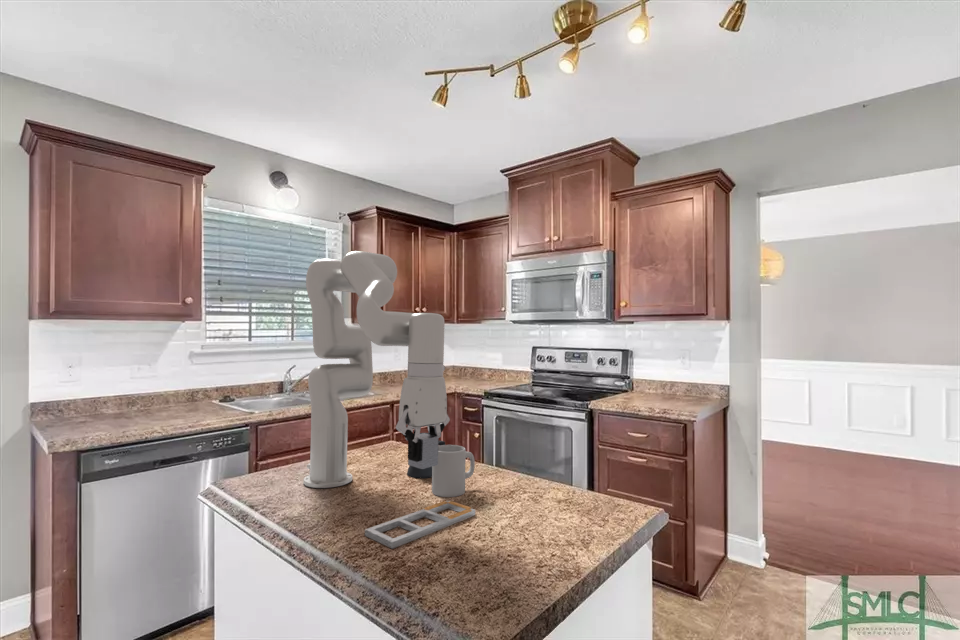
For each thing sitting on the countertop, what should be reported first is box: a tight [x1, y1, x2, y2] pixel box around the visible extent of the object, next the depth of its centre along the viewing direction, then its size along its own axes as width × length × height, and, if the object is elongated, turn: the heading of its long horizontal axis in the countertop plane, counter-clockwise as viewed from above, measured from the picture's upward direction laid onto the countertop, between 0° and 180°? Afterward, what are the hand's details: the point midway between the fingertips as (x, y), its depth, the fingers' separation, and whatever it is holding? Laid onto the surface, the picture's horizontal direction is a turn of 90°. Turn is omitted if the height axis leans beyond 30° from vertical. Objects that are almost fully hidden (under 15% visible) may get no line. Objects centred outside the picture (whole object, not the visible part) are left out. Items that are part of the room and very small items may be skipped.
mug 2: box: [406, 432, 446, 480], centre depth 138 cm, size 12×9×11 cm
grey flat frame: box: [364, 500, 476, 550], centre depth 99 cm, size 9×23×1 cm, turn 139°
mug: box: [431, 444, 476, 498], centre depth 122 cm, size 12×8×11 cm
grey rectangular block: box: [407, 432, 439, 469], centre depth 100 cm, size 4×4×6 cm
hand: (423, 457), depth 100 cm, fingers closed on grey rectangular block, 4 cm apart
